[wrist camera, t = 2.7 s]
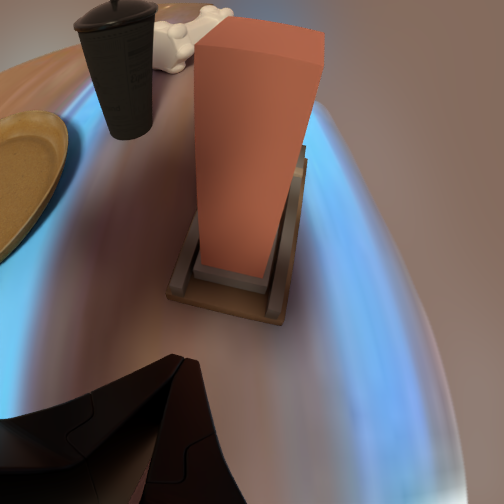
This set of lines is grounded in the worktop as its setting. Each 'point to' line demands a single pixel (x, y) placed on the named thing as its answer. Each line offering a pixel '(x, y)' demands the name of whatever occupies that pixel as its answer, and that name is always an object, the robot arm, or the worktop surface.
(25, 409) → the worktop surface
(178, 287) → the press track
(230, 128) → the post
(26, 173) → the plant saucer
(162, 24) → the bone shaped toy
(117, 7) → the drinking cup
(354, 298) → the worktop surface
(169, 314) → the worktop surface
